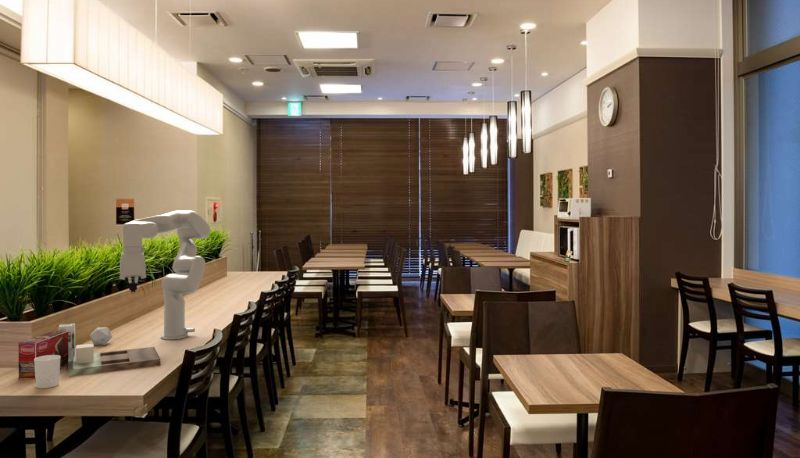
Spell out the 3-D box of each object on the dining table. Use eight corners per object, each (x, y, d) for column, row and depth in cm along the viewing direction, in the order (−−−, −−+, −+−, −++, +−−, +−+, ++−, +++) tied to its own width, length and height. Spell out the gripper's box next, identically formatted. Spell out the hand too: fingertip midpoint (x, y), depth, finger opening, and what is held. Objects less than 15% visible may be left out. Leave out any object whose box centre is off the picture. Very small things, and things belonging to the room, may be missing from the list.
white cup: (42, 382, 196) (42, 355, 195) (65, 382, 196) (64, 354, 196) (29, 389, 188) (29, 360, 187) (53, 389, 188) (52, 360, 188)
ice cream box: (36, 378, 200) (35, 343, 200) (18, 378, 200) (18, 342, 200) (68, 363, 220) (68, 331, 220) (52, 363, 220) (52, 331, 220)
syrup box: (58, 361, 223) (58, 326, 223) (59, 357, 229) (59, 323, 228) (74, 359, 226) (74, 325, 226) (75, 356, 231) (75, 322, 231)
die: (96, 348, 247) (110, 331, 250) (82, 338, 248) (96, 321, 251) (105, 351, 255) (119, 333, 257) (91, 341, 256) (105, 324, 259)
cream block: (93, 358, 219) (93, 343, 219) (93, 361, 214) (93, 346, 214) (76, 360, 216) (75, 345, 216) (76, 363, 211) (75, 348, 211)
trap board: (154, 352, 239) (154, 340, 239) (160, 365, 219) (160, 351, 219) (69, 361, 223) (69, 348, 223) (68, 376, 203) (68, 361, 203)
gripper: (150, 249, 245) (150, 289, 246) (113, 250, 238) (113, 291, 239) (152, 250, 239) (152, 291, 240) (114, 251, 231) (114, 294, 232)
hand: (133, 291), depth 239 cm, fingers closed
